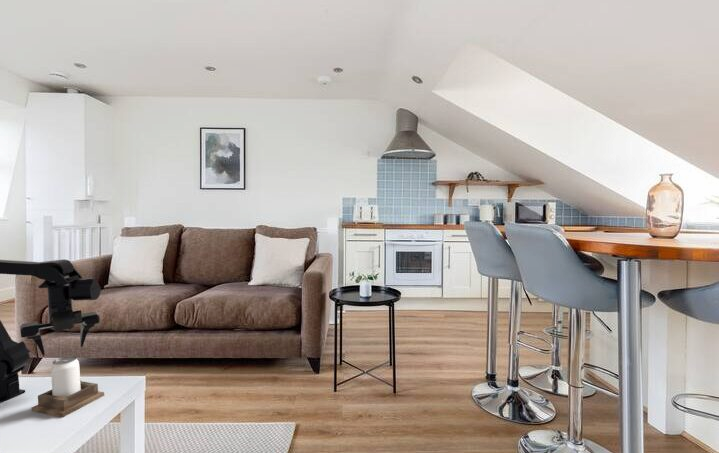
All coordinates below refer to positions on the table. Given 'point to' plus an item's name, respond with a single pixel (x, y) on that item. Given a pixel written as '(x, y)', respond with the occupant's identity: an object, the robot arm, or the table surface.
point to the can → (65, 376)
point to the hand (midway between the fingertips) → (63, 350)
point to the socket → (67, 400)
